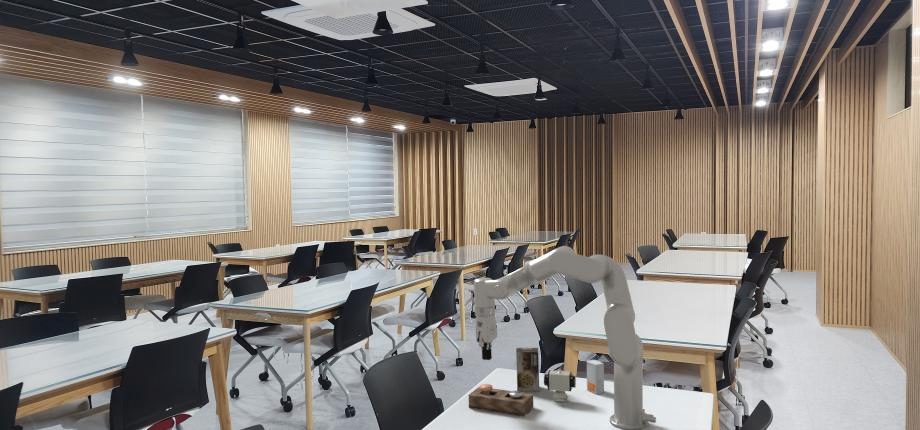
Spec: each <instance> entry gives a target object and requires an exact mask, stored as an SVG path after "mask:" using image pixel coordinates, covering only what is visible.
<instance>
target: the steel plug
mask: <svg viewBox="0 0 920 430" xmlns="http://www.w3.org/2000/svg"><path fill="white" fill-rule="evenodd" d="M510 391H511V392H509V396H510V397H511V398H515V399H519V398H521V397H522V393H523V391H517V390H510Z"/></svg>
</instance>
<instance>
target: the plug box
mask: <svg viewBox="0 0 920 430" xmlns="http://www.w3.org/2000/svg"><path fill="white" fill-rule="evenodd" d="M511 391H512V390H506V389H499V388H493V387H492V390H491V391H490V395H487V394H483V391H481V390H480V386H478V387H477V388H475V389H474V390H473V391H471V393H469V394H468V408H469V409H475V410H480V411H484V412H485V411H487V412H492V413H499V414H505V415H511V416H517V417H523V418H525V417H526V415H527V414H528V413H529V412H531V411H532V410H533V408H534V394H533V393H527V392H522V397H521V398H519V399H515V398H511V397H510V396H509V392H511Z"/></svg>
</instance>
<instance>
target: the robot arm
mask: <svg viewBox="0 0 920 430" xmlns="http://www.w3.org/2000/svg"><path fill="white" fill-rule="evenodd" d="M557 275H563V276H565V277H568V278H571V279H574V280H579V281H580V282H583V283H584V282H585V283H588V284H595V283H598V282H601V284H602V288H603V295H604V299H605V303H606V305H605V306H606V311H605V313H604V317H603V326H604V330H605V335H606V336H605V337H606V341H607V346H608V350H609V354H610V357H611V359H612V362H613V364H614V365H613V393H614V394H613V405H614V406H613V413H614V414H612V415H611V416H609V422H610V424H611V425H613V426H614V427H617V428H619V429H622V430H640V429H644V428H646V427H647V426H648V422H649V423H653V424H655V423H657V417H656V416H654V414H650V413H649V414H648V413H647V412H646V410H645V408H643V407H644V406H643V405H644V403H643V400H644V399H643V398H644V397H643V391H644V389H643V386H644V385H643V382H644V381H643V380H644V379H643V377H644V376H643V374H644V373H643V371H644V367H643V366H644V365H643V364H644V344H643V341H642V338H641V337H640V336H639V335H638V334H637V333H636V329H635V325H634V323H635V322H636V314H635V313H636V312H635V309H634V306H633V300H632V296H631V293H630V289H629V285H628V279H627V277H626V274H625V271H624V270H623V267H621V264H619V263H618V261H616V260H615V259H614V258H612V257H610V256H608V255H604V254H592V255H590V256H585V255H581V254H578V253H576V252H575V250H574V249H573V248H572V247H571V246H567V245H562V246H559V247H557V248H554V249H553V250H551V251H549V252H547V253H545V254H543V255H541V256H539V257H537V258H535V259H532V260H531V261H529V262H527V263H526V265H524V266H523V267H520V268H518V269H516V270H515V271H513V272H511V273H509V274H507V275H505V276H502V277H500V278H497V279H492V278H490V277H479V278H475V279H474V281H473V295H474V296H473V298H474V316H475V339H476V343H478V347H479V348H481V359H482V361H483V360H484V361H490V360H492V359H493V357H492V348H493V341H495V340H496V339H497V337H498V327H497V319H496V318H497V317H496V306H495V303H496V301H495V300H500V301H501V300H505V299H507V298H509V297H511V296H513V295H514V294H516V293H518V292H520V291H522V290H524V289H526V288H528V287H531V286H533V285H537V284H541V283H544V282H545V281H548V280H550V279H551V278H553V277H556V276H557Z"/></svg>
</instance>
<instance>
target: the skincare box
mask: <svg viewBox="0 0 920 430" xmlns="http://www.w3.org/2000/svg"><path fill="white" fill-rule="evenodd" d="M586 390H587V391H589V392H591V393H593V394H594V395H600V394H604V393H605V364H604V363H603V362H602V361H599V360H596V359H590V360H586Z"/></svg>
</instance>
